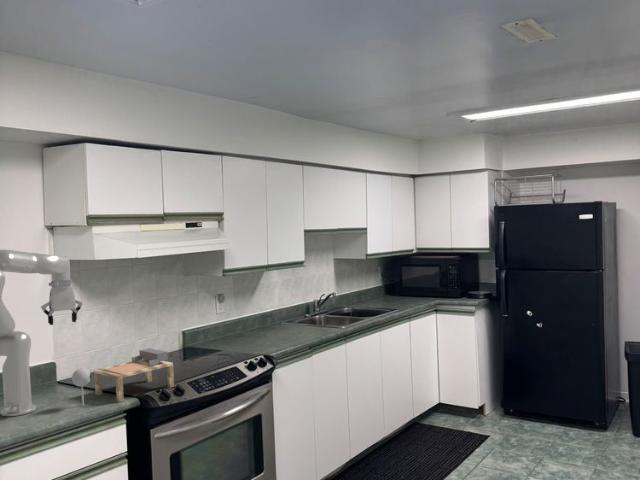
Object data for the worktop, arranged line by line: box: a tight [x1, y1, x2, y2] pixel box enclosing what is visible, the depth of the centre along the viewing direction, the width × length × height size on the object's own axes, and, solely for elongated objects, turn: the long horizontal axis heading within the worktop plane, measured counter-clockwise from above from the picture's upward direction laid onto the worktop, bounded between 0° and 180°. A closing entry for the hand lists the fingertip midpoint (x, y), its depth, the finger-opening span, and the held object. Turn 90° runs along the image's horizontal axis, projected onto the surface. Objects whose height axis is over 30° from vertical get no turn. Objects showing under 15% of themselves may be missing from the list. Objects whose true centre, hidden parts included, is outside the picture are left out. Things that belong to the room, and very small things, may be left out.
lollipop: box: [71, 367, 92, 407], centre depth 235 cm, size 7×7×15 cm
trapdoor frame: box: [93, 359, 175, 403], centre depth 254 cm, size 26×19×10 cm
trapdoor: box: [105, 347, 168, 375], centre depth 255 cm, size 22×14×6 cm, turn 139°
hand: (62, 323), depth 260 cm, fingers open, 9 cm apart
